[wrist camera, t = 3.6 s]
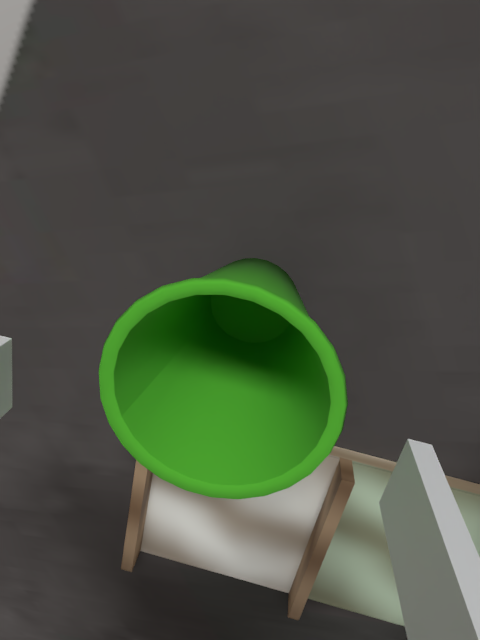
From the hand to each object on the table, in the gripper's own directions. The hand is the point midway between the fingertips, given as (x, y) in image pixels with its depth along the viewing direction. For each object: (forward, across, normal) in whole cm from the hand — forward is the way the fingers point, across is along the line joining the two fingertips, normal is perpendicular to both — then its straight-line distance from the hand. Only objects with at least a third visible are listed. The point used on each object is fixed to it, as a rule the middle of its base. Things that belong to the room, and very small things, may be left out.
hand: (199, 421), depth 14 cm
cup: (+12, 0, 0) cm, 13 cm away
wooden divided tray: (+12, +8, -15) cm, 21 cm away
